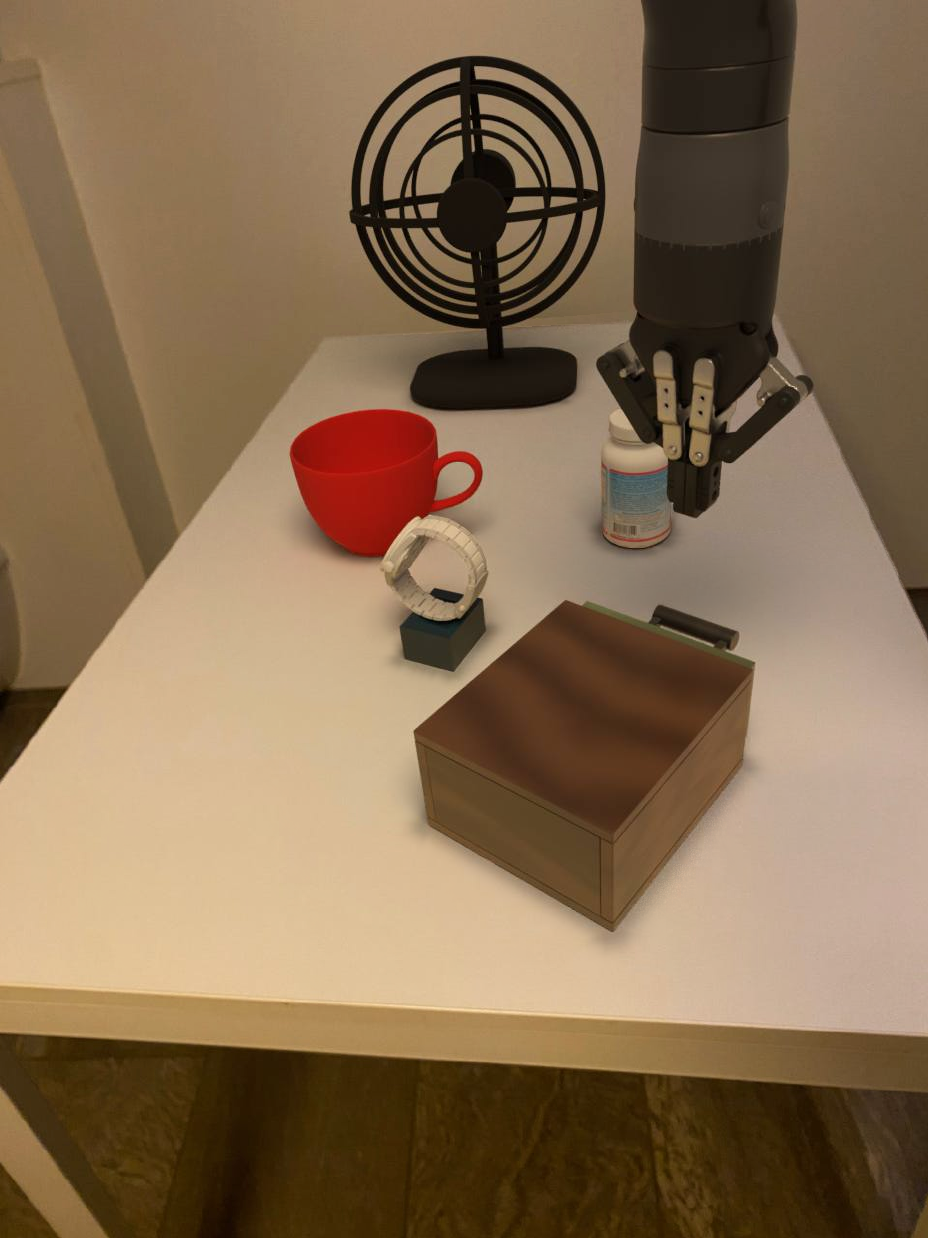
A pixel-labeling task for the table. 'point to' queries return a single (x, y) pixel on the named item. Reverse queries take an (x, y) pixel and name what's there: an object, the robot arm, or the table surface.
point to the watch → (437, 595)
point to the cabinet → (585, 756)
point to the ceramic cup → (373, 475)
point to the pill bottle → (633, 487)
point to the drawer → (687, 632)
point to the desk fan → (481, 238)
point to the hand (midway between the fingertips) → (691, 509)
